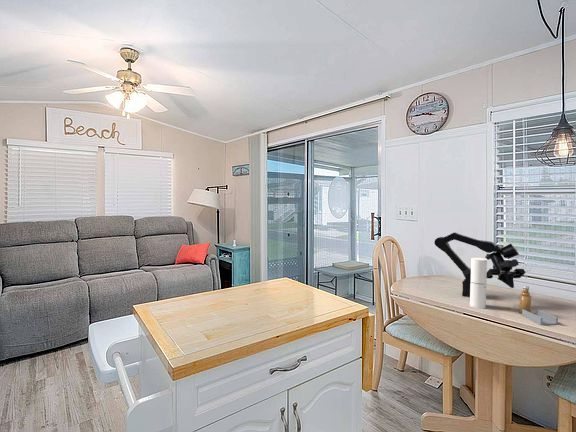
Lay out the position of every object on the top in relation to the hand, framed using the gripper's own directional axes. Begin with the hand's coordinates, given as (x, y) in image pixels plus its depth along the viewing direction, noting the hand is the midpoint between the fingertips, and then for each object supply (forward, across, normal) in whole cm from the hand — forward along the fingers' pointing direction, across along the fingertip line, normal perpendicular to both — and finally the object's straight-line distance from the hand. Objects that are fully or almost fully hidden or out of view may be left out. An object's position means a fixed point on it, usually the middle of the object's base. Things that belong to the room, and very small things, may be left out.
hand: (512, 287), depth 167 cm
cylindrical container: (+6, -16, +10) cm, 20 cm away
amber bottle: (+14, 0, +1) cm, 14 cm away
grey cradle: (+20, 0, -5) cm, 21 cm away
